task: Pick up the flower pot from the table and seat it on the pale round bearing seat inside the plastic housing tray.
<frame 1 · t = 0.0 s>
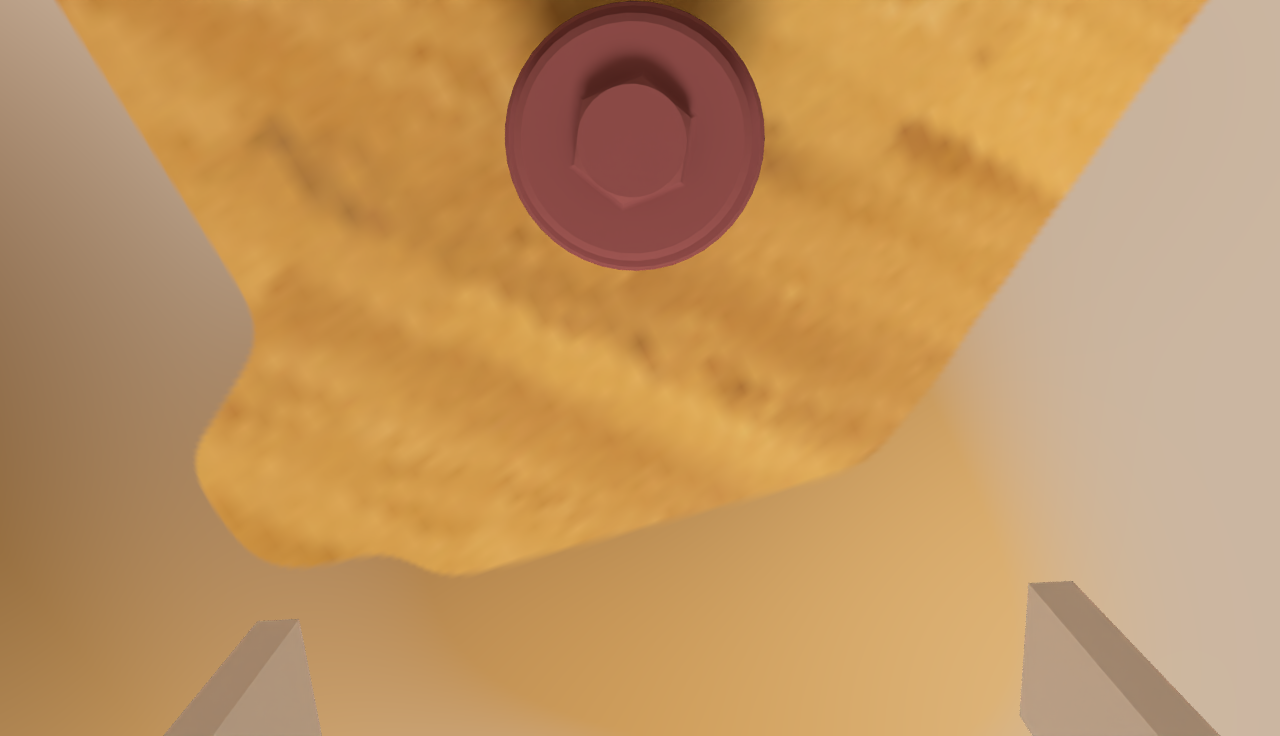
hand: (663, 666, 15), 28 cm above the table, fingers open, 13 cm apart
mechanical component: (637, 141, 40), on the table
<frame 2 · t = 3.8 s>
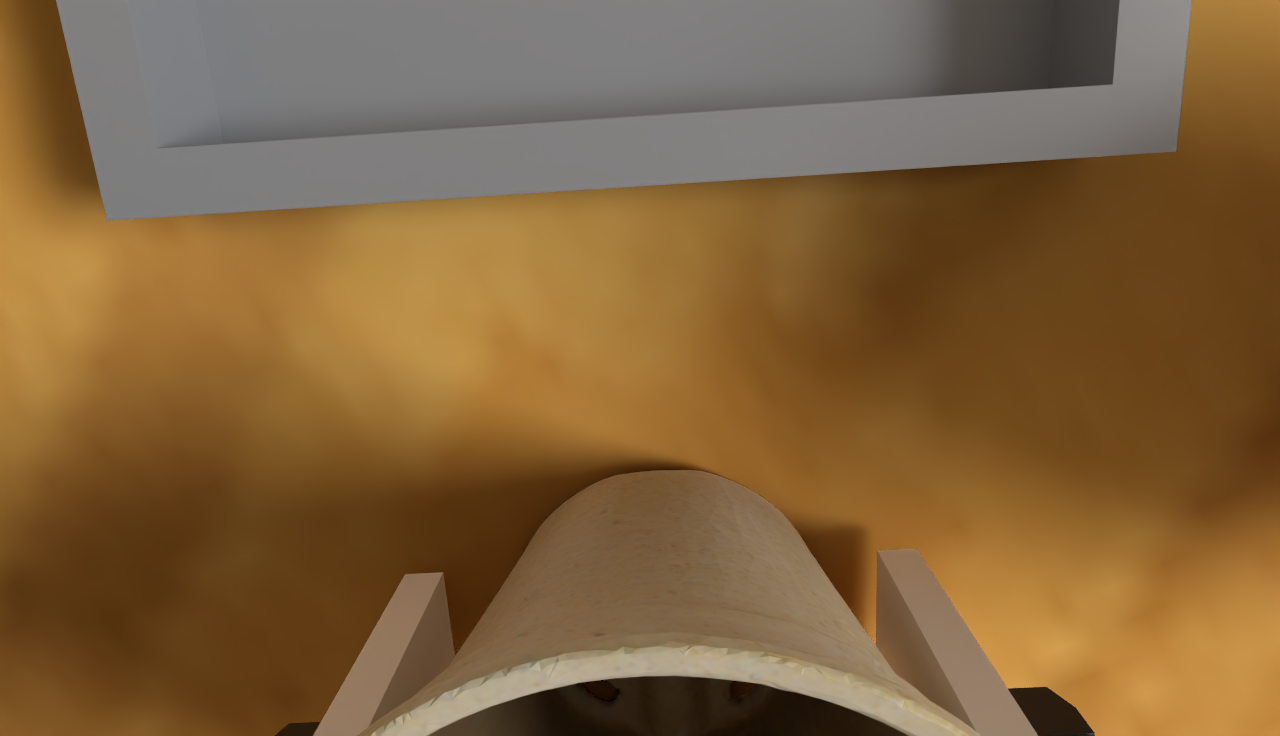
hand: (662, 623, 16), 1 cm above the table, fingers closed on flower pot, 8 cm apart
flower pot: (661, 596, 17), on the table, touching gripper
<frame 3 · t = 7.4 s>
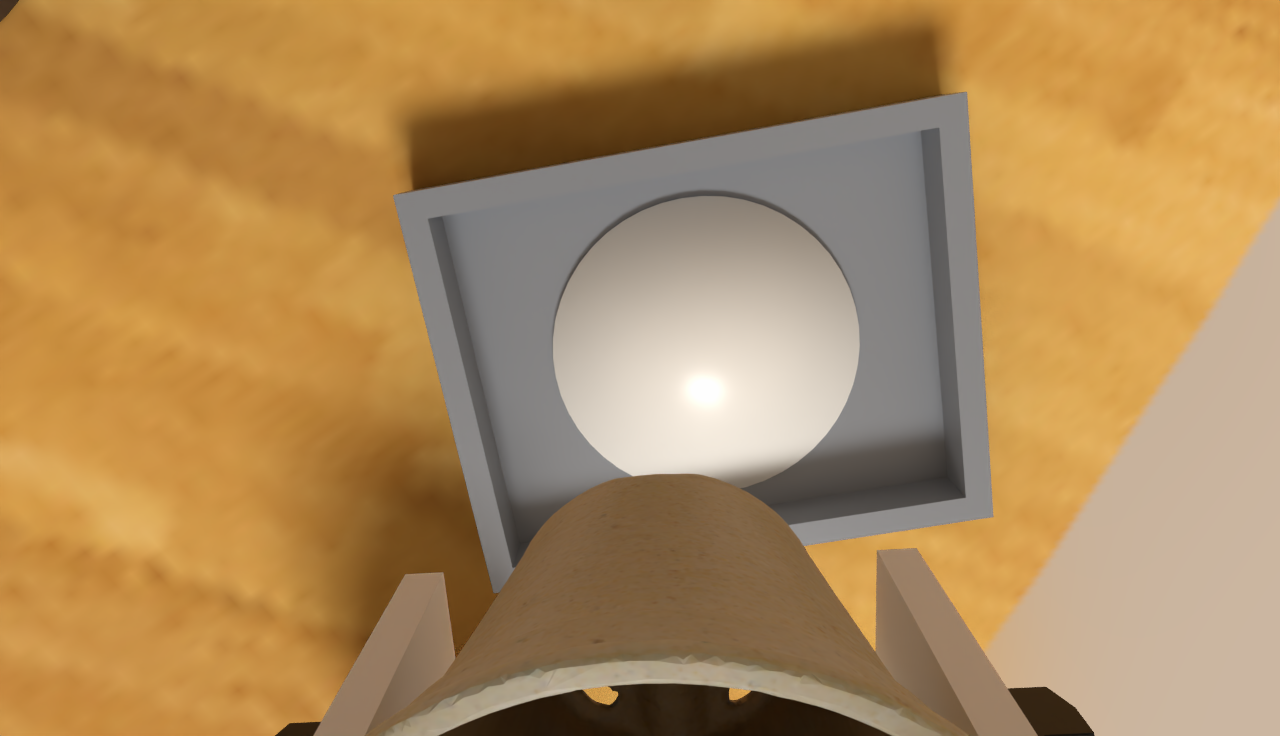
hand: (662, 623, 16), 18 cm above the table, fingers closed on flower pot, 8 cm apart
housing tray: (704, 347, 33), on the table
flower pot: (660, 600, 17), point 17 cm above the table, touching gripper
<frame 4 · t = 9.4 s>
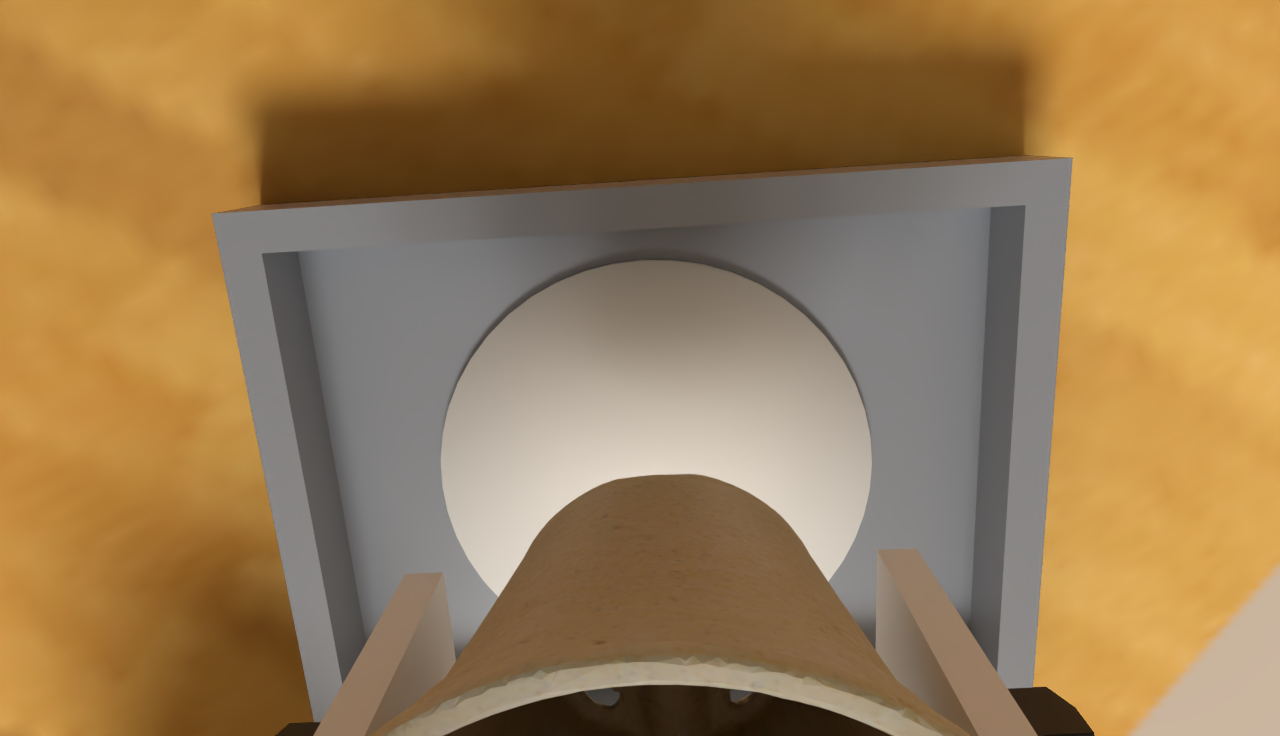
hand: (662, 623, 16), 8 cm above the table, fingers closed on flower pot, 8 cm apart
housing tray: (655, 465, 24), on the table
flower pot: (661, 600, 17), point 7 cm above the table, touching gripper
when the fingers open (3 cm above the table, at t = 10.9 s): flower pot drops 1 cm, resting on housing tray.
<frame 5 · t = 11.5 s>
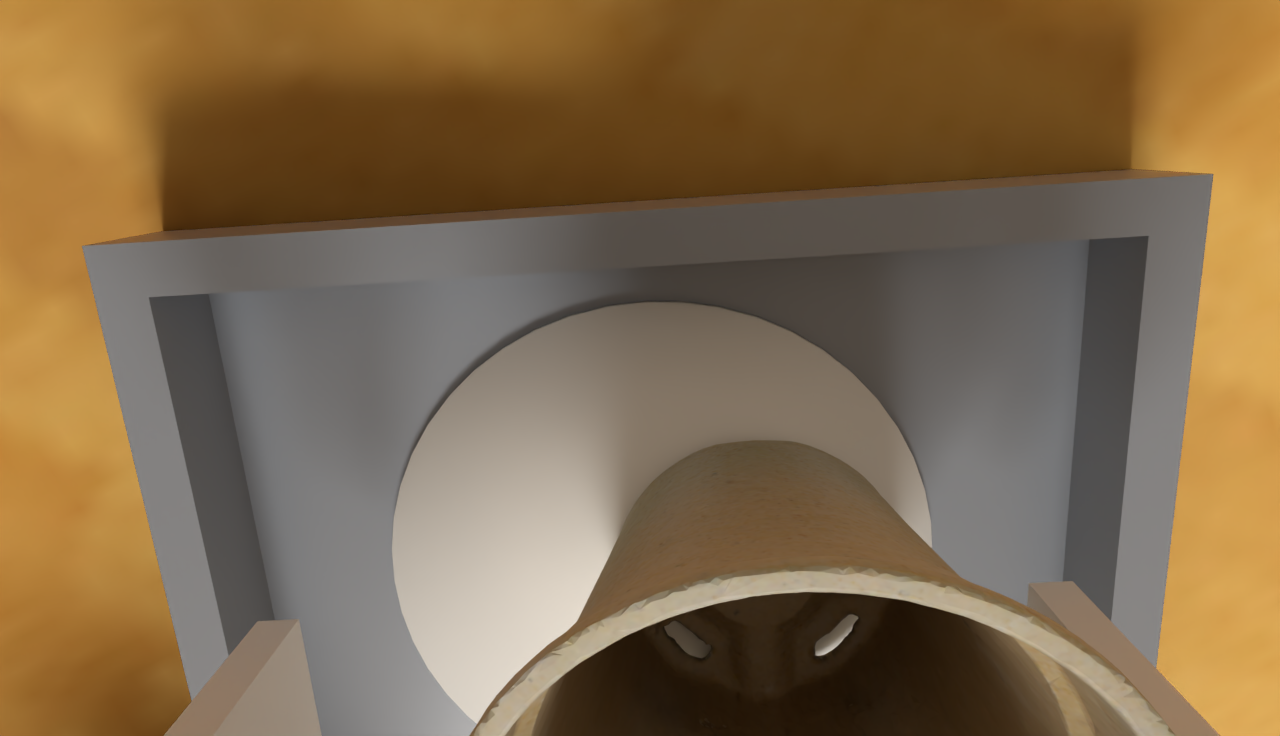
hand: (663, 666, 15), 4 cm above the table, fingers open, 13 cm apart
housing tray: (660, 552, 19), on the table
flower pot: (751, 560, 18), point 1 cm above the table, touching gripper, housing tray
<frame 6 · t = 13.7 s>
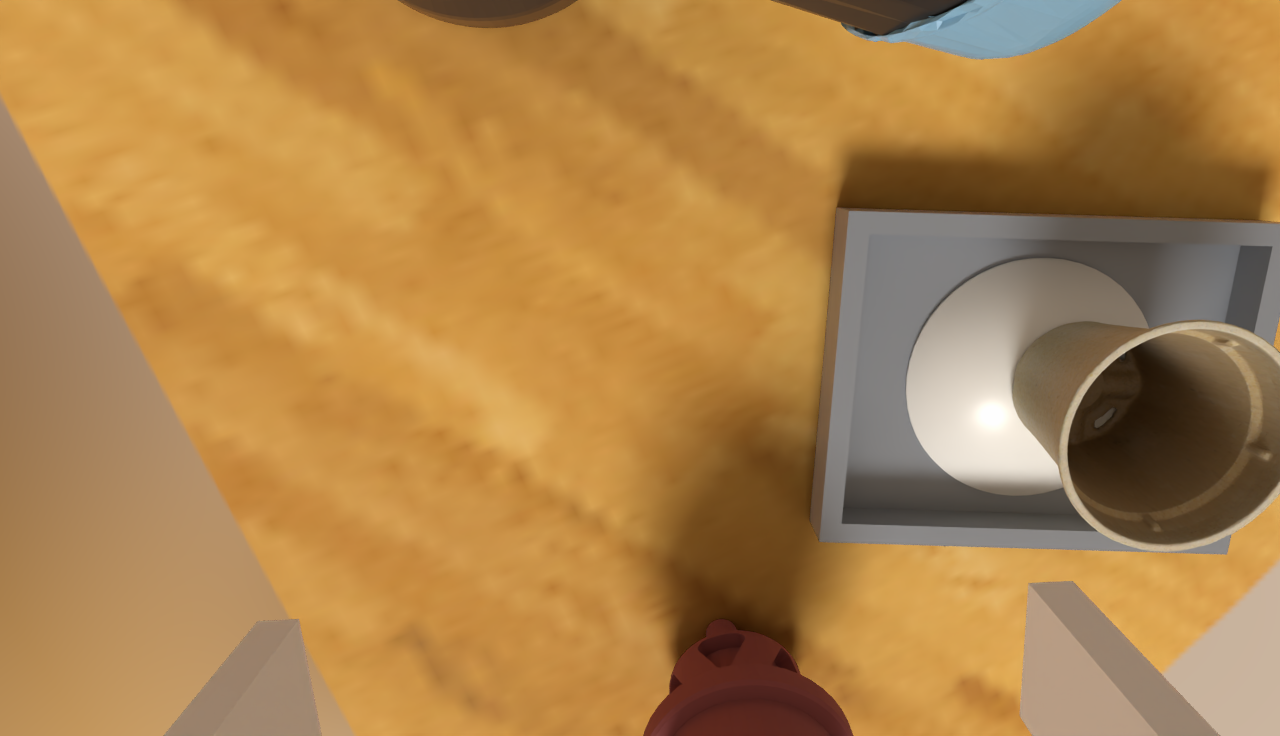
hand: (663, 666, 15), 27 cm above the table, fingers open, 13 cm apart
mechanical component: (732, 668, 45), on the table
housing tray: (1023, 377, 41), on the table
flower pot: (1069, 381, 41), point 1 cm above the table, touching housing tray
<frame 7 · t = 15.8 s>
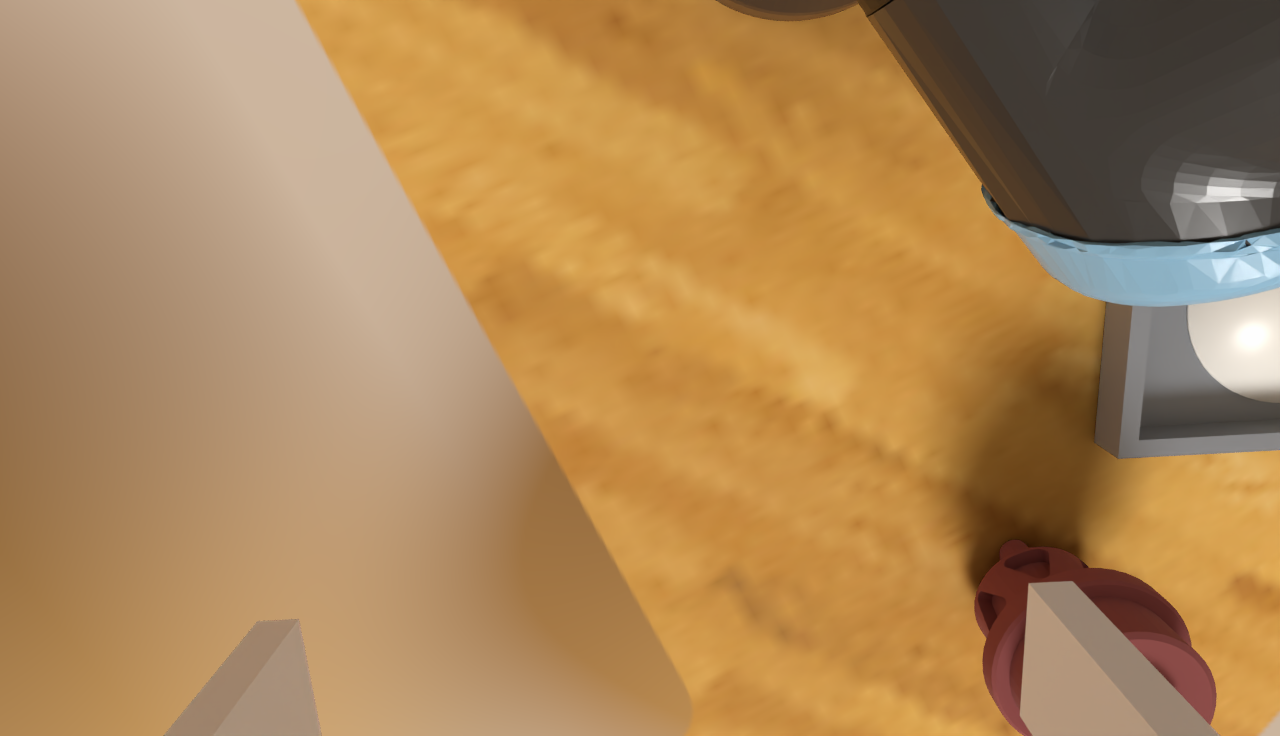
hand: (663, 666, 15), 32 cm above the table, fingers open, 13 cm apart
mechanical component: (1021, 584, 50), on the table
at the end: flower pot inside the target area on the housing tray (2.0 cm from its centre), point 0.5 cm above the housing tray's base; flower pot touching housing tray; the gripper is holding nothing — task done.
